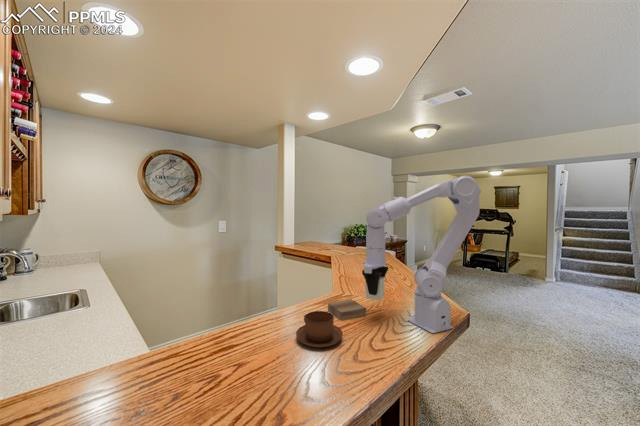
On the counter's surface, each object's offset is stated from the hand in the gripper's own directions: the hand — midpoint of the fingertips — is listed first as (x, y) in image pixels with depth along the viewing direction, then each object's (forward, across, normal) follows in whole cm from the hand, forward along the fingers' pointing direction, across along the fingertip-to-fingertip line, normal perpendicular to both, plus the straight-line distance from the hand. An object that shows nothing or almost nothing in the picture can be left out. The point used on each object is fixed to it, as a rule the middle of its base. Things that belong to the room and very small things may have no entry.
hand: (375, 292), depth 81 cm
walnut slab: (+9, 0, -10) cm, 13 cm away
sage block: (+2, 0, 0) cm, 2 cm away
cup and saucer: (+9, +19, -9) cm, 23 cm away
